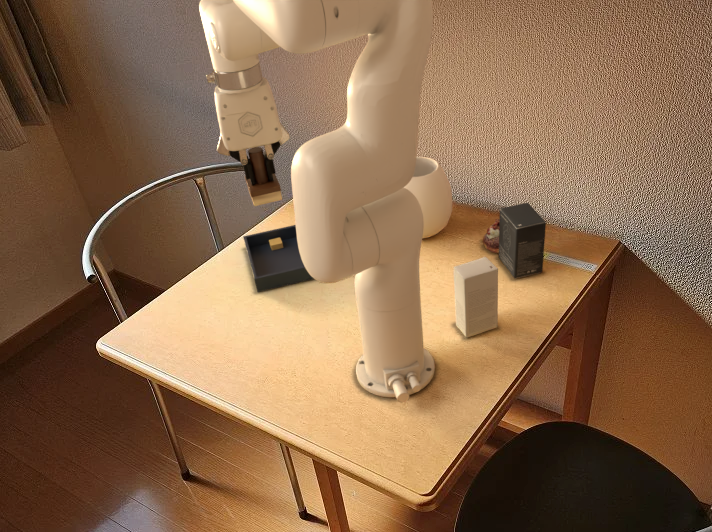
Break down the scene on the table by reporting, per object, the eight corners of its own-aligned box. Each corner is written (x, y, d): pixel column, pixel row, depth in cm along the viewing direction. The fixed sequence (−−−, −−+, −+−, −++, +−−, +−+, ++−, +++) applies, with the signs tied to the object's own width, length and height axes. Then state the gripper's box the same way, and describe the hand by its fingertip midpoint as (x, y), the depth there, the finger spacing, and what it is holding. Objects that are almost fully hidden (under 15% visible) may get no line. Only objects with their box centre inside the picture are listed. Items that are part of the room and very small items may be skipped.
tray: (320, 277, 140) (318, 264, 138) (257, 292, 138) (254, 279, 136) (304, 236, 152) (301, 223, 150) (246, 249, 150) (242, 236, 148)
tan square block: (283, 248, 148) (282, 242, 147) (271, 250, 148) (270, 245, 147) (281, 242, 150) (280, 237, 149) (269, 244, 150) (268, 239, 149)
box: (543, 272, 134) (546, 221, 127) (513, 279, 133) (516, 228, 126) (525, 251, 140) (528, 201, 132) (497, 257, 139) (498, 207, 132)
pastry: (475, 239, 144) (475, 217, 141) (509, 228, 146) (510, 206, 142) (496, 259, 138) (497, 236, 135) (531, 247, 140) (532, 224, 137)
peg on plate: (283, 200, 132) (273, 154, 126) (253, 206, 131) (242, 161, 125) (276, 184, 137) (266, 139, 132) (247, 190, 136) (237, 145, 131)
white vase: (403, 208, 156) (399, 147, 147) (462, 217, 151) (461, 155, 142) (377, 240, 148) (370, 178, 139) (438, 250, 143) (435, 187, 134)
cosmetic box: (486, 314, 127) (486, 255, 118) (498, 328, 124) (499, 268, 115) (454, 325, 125) (452, 266, 117) (465, 339, 122) (464, 279, 114)
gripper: (191, 93, 117) (219, 198, 129) (291, 73, 118) (309, 179, 131) (188, 78, 122) (215, 180, 134) (283, 59, 124) (301, 162, 136)
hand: (261, 179), depth 132 cm, fingers closed on peg on plate, 2 cm apart
